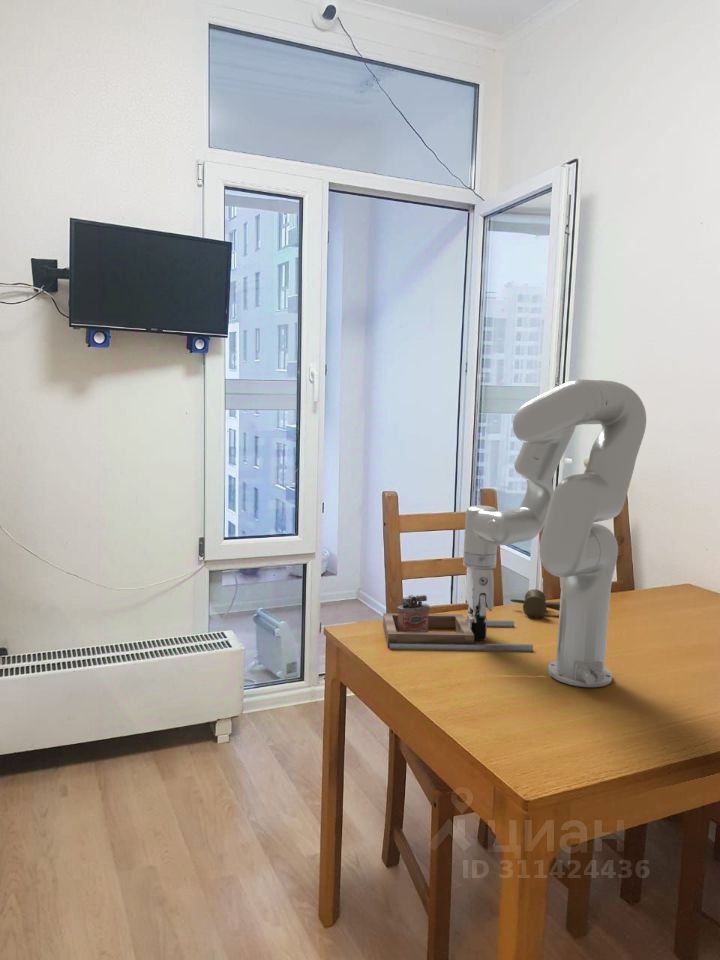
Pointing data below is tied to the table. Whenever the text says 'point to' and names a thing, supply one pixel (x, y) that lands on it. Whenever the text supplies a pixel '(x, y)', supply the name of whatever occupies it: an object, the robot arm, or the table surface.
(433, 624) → the sliding frame
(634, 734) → the table surface
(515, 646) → the guide rails
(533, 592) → the kendama
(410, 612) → the lighter
